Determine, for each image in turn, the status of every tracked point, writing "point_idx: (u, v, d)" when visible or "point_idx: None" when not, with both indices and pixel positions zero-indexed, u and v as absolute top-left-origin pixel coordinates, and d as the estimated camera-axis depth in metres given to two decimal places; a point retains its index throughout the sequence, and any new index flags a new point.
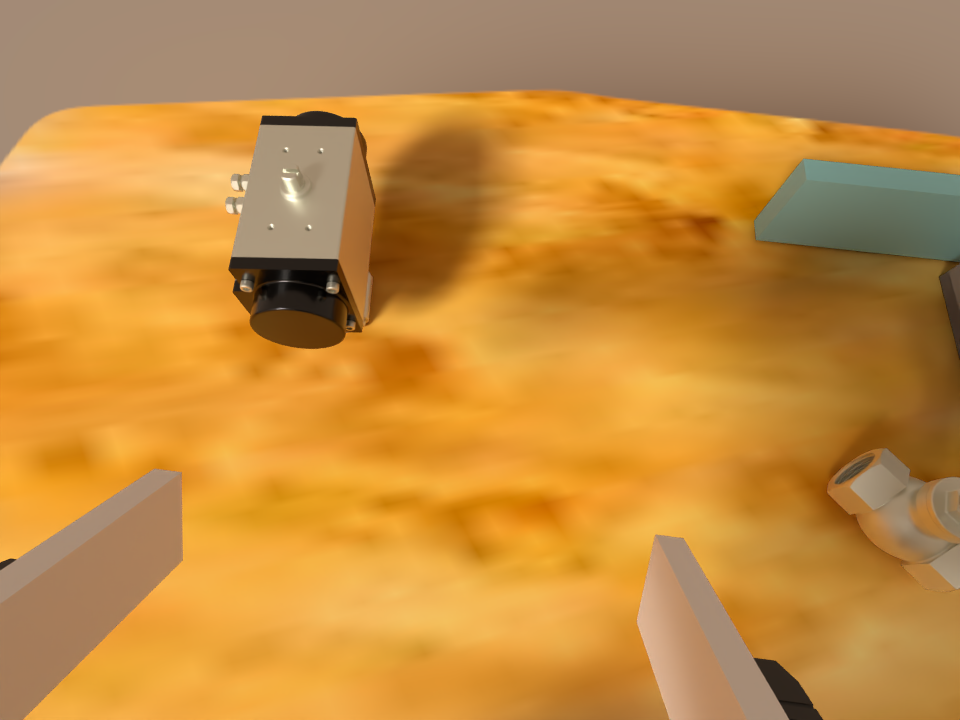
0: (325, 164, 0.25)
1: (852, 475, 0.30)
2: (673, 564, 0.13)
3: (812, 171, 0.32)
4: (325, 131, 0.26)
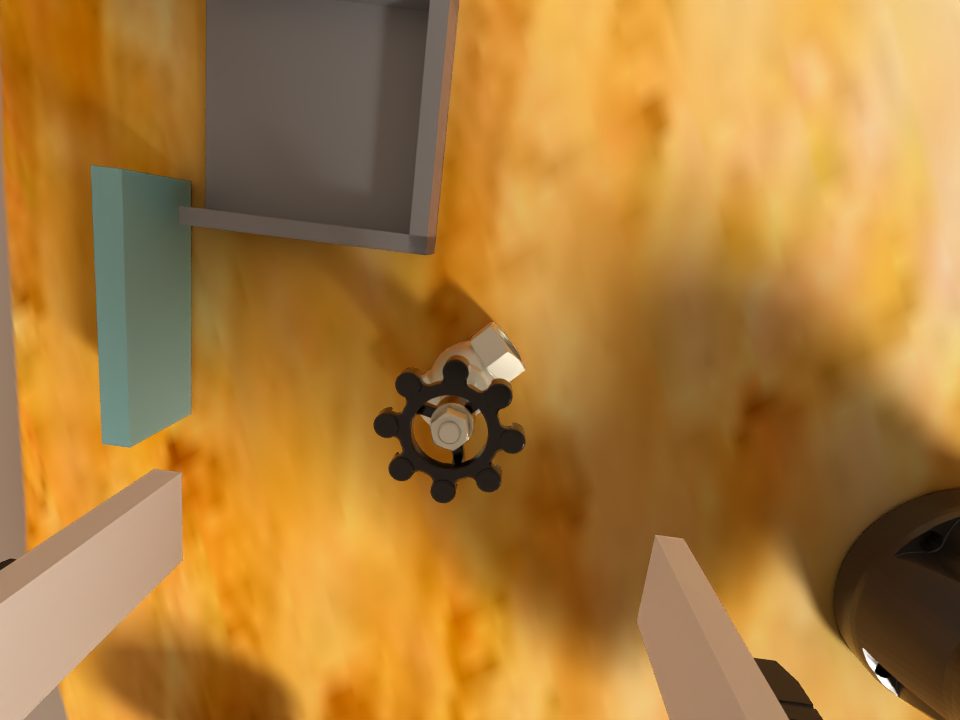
0: None
1: None
2: (673, 564, 0.13)
3: (117, 438, 0.30)
4: None
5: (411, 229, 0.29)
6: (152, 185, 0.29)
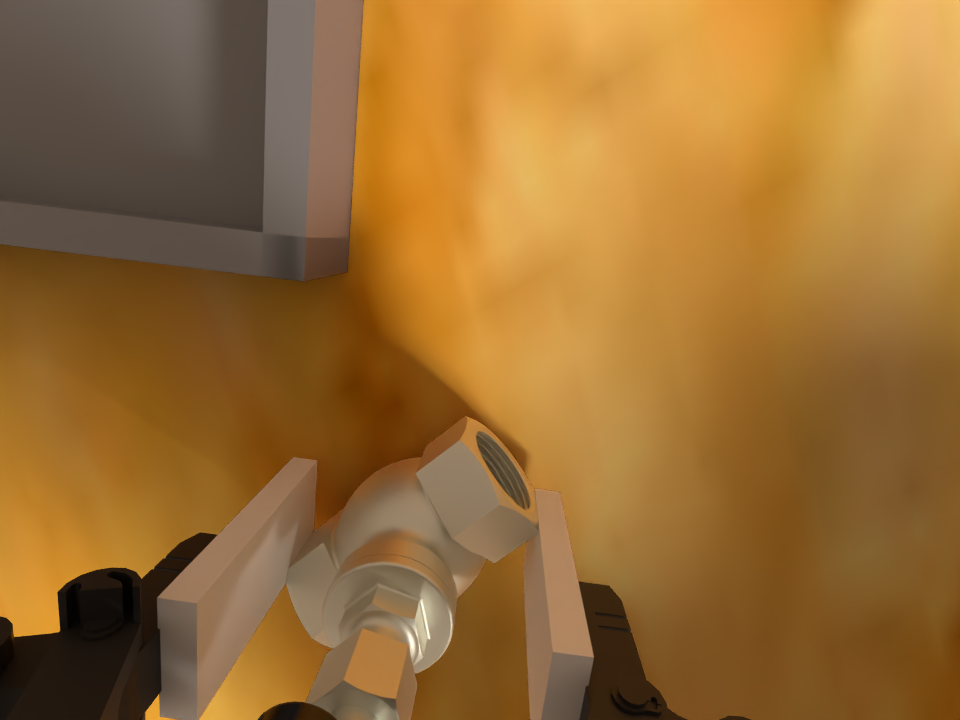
0: None
1: None
2: (540, 510, 0.15)
3: None
4: None
5: (266, 220, 0.12)
6: None
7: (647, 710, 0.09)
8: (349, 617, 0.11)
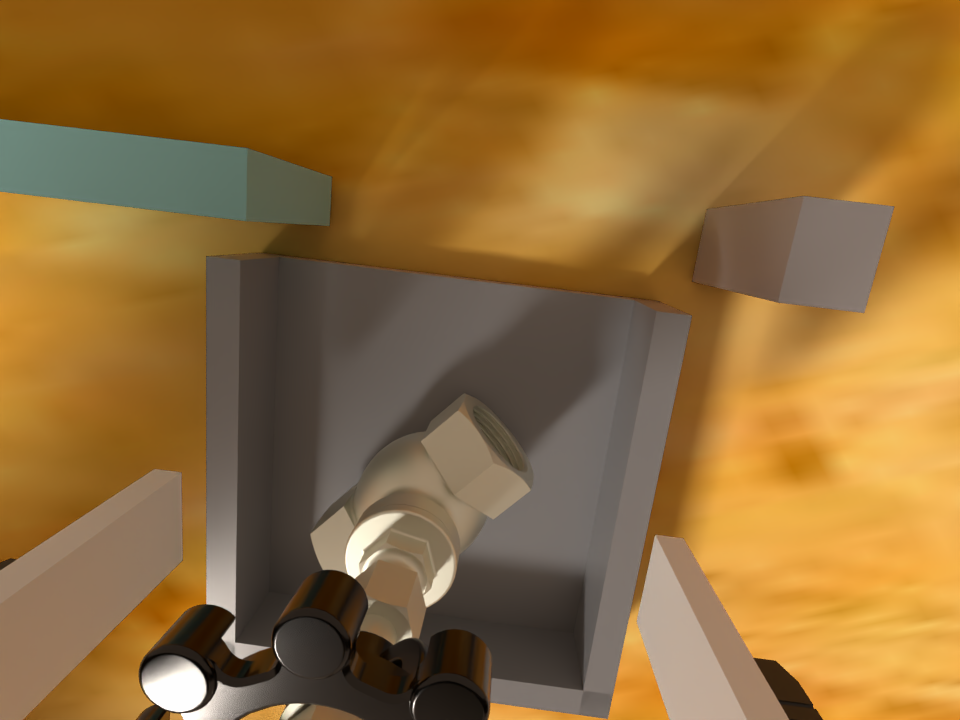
0: None
1: None
2: (673, 564, 0.13)
3: None
4: None
5: (242, 646, 0.18)
6: None
7: None
8: (368, 556, 0.13)
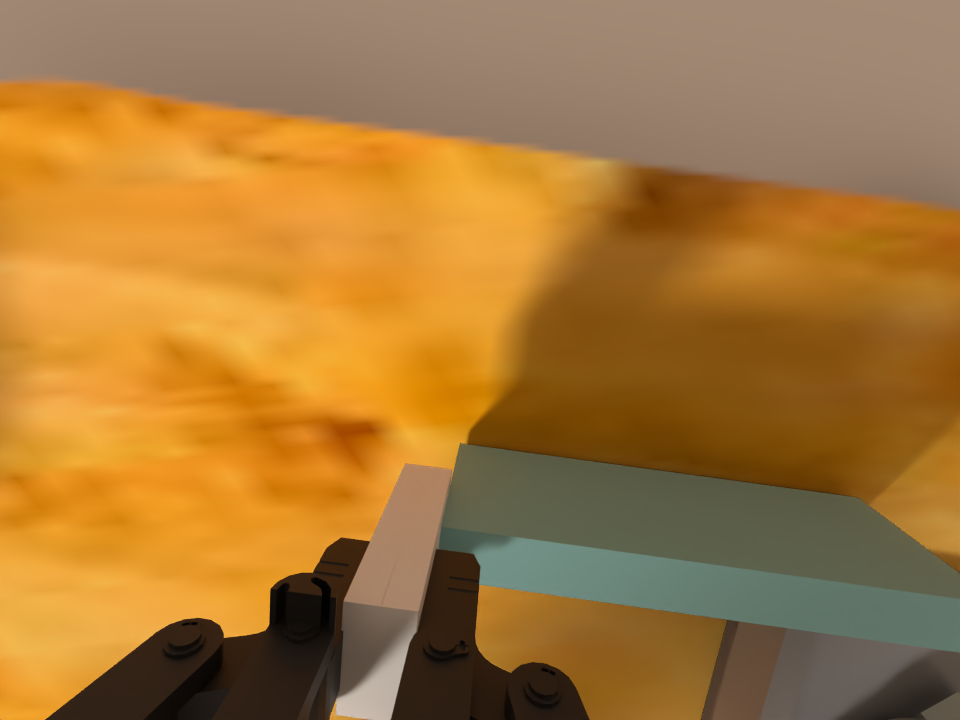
0: None
1: None
2: (424, 485, 0.15)
3: None
4: None
5: None
6: None
7: (456, 654, 0.10)
8: None
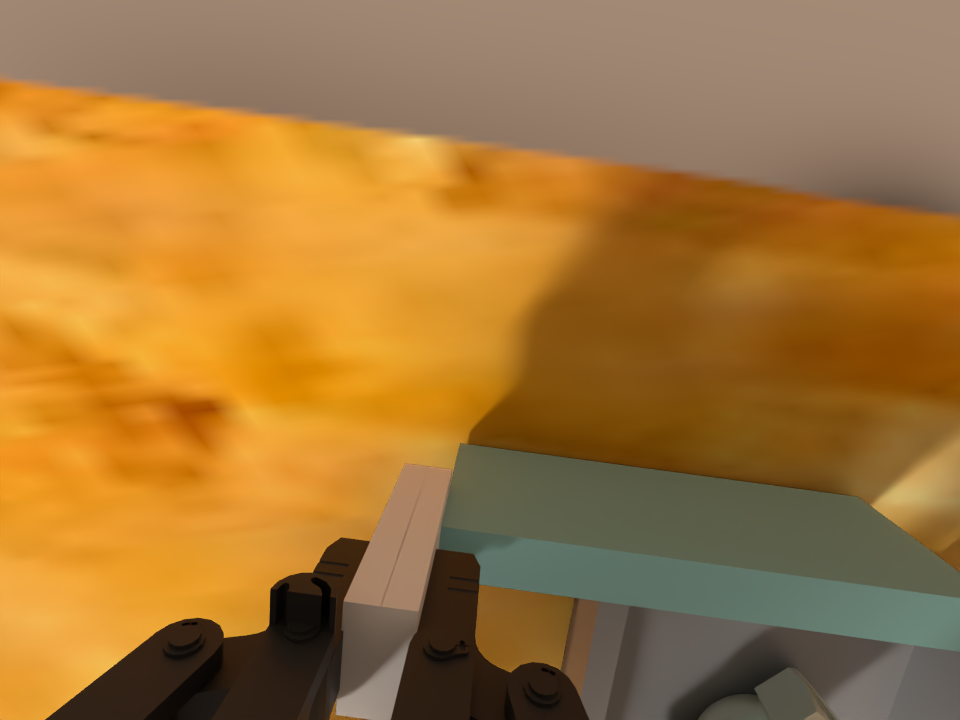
0: None
1: None
2: (425, 485, 0.15)
3: None
4: None
5: None
6: None
7: (456, 654, 0.10)
8: None
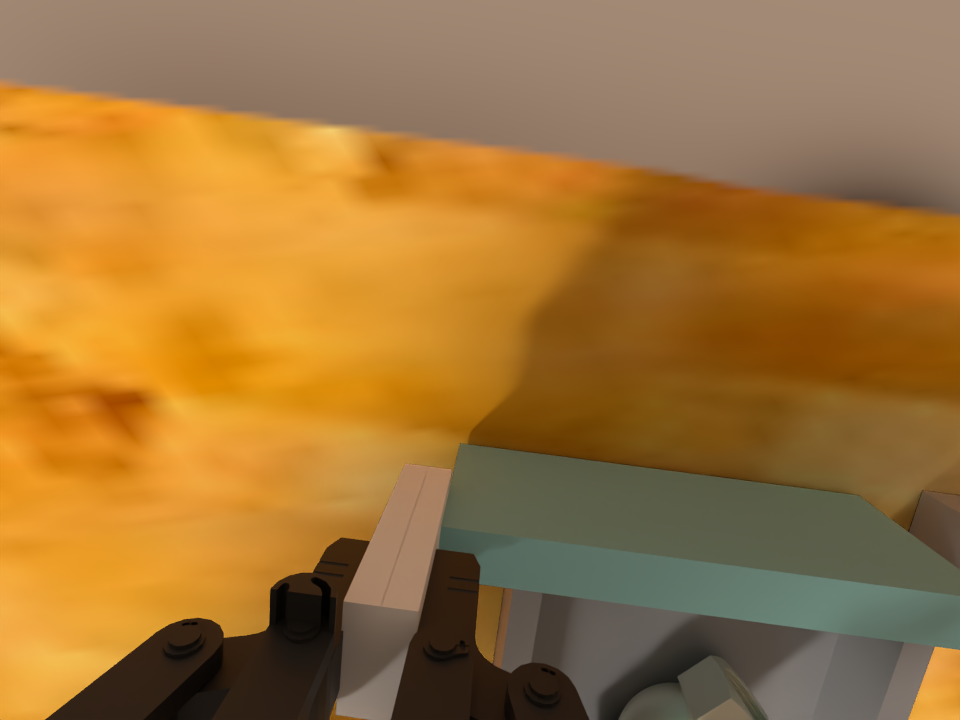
0: None
1: None
2: (424, 485, 0.15)
3: None
4: None
5: None
6: None
7: (456, 654, 0.10)
8: None
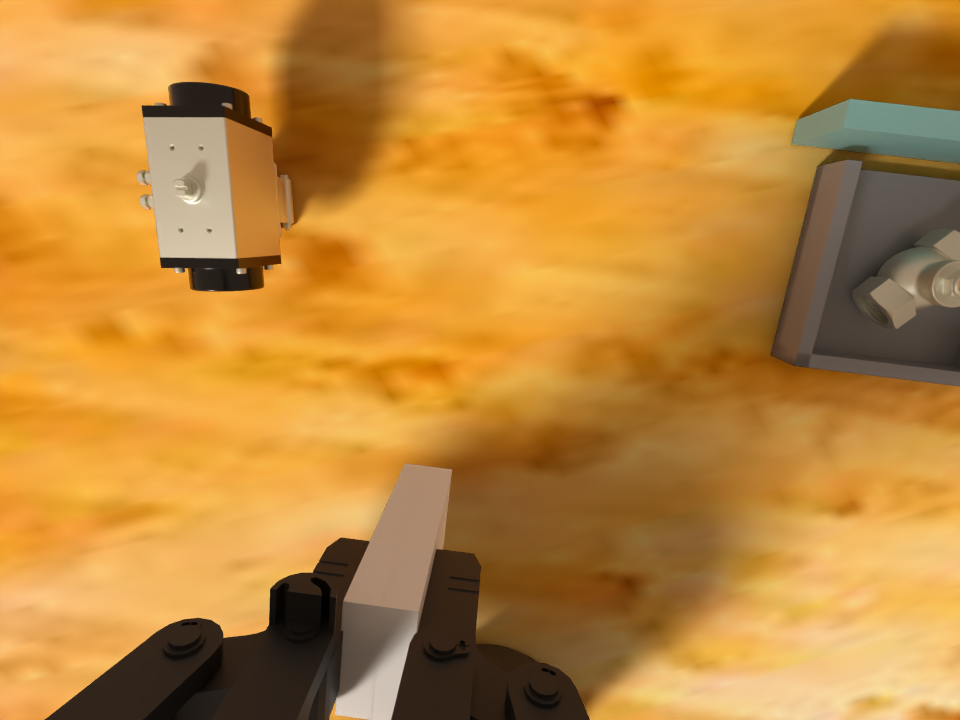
0: (208, 163, 0.30)
1: (864, 298, 0.39)
2: (425, 485, 0.15)
3: (853, 116, 0.32)
4: (200, 124, 0.30)
5: (815, 355, 0.38)
6: None
7: (456, 654, 0.10)
8: (955, 276, 0.33)
